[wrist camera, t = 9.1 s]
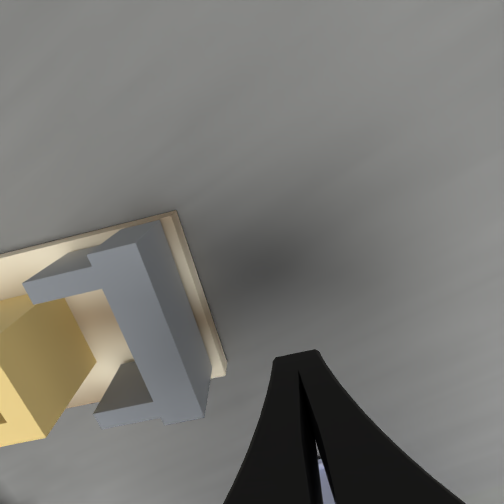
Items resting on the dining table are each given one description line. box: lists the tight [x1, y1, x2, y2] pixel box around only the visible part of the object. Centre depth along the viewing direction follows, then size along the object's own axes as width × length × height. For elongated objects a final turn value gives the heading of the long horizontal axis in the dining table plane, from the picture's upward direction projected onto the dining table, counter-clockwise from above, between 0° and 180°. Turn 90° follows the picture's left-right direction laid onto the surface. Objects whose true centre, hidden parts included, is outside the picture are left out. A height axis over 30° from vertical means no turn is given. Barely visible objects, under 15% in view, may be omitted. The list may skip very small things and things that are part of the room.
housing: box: [22, 220, 212, 429], centre depth 16 cm, size 9×5×4 cm, turn 14°
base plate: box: [0, 210, 227, 409], centre depth 17 cm, size 10×13×4 cm
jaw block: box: [0, 294, 97, 447], centre depth 16 cm, size 5×5×5 cm
